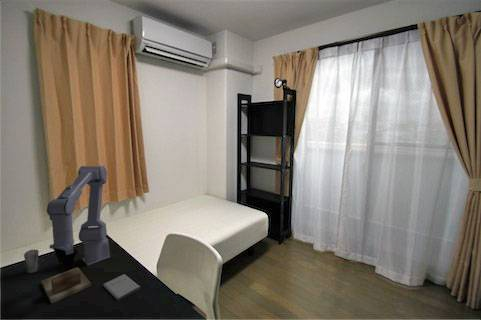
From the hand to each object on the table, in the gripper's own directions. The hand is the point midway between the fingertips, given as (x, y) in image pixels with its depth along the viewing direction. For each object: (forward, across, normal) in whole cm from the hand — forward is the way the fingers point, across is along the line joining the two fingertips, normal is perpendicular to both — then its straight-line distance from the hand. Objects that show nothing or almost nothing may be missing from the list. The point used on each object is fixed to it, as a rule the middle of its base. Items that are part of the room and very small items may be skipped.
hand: (65, 265), depth 83 cm
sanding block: (+8, 0, 0) cm, 8 cm away
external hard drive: (+10, +14, +14) cm, 22 cm away
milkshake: (+10, -24, -6) cm, 27 cm away
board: (+10, -4, 0) cm, 10 cm away
